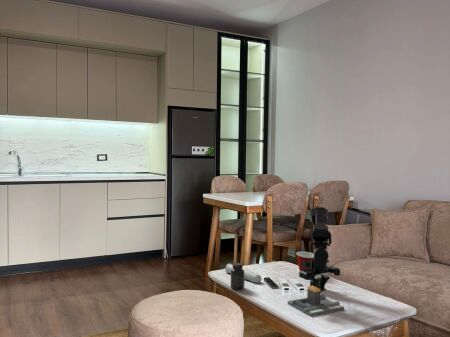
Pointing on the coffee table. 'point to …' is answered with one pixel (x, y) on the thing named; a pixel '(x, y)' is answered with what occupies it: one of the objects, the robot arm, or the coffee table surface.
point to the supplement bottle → (237, 277)
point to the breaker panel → (316, 306)
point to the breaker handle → (313, 295)
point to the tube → (248, 274)
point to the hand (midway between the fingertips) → (319, 292)
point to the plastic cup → (304, 258)
